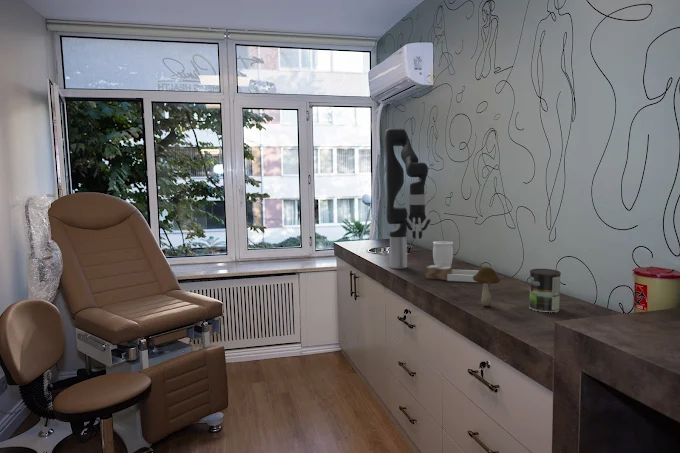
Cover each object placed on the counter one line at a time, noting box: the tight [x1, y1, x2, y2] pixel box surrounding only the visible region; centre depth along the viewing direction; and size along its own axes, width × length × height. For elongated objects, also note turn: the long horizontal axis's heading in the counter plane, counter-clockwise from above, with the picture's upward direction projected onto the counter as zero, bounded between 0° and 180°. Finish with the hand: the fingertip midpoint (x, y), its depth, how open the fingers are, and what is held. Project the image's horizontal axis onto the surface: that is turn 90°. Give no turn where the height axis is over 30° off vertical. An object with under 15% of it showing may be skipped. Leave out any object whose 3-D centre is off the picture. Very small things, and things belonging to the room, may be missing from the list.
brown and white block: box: [425, 264, 453, 281], centre depth 223 cm, size 11×7×6 cm, turn 60°
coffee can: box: [528, 268, 562, 314], centre depth 167 cm, size 10×10×14 cm
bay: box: [446, 268, 479, 283], centre depth 220 cm, size 15×12×3 cm
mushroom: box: [473, 266, 501, 307], centre depth 173 cm, size 9×11×15 cm
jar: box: [432, 240, 454, 267], centre depth 240 cm, size 11×10×15 cm
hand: (417, 238), depth 225 cm, fingers closed
